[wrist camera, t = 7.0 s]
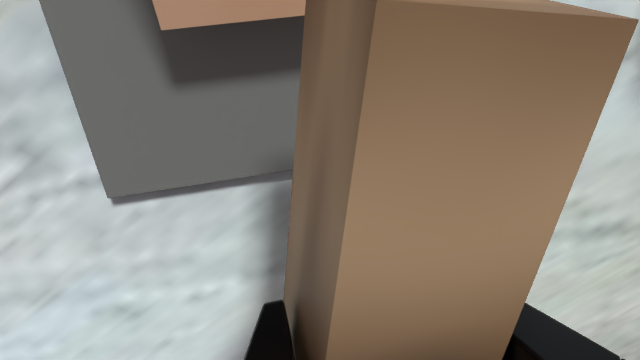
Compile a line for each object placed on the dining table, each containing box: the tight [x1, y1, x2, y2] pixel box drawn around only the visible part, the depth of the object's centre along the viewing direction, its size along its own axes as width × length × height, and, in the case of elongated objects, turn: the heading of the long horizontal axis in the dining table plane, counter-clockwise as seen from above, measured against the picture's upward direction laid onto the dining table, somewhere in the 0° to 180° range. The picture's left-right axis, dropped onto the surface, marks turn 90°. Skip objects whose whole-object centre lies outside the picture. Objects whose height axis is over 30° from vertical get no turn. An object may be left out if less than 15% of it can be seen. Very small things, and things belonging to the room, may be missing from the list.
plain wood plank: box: [283, 0, 638, 360], centre depth 9 cm, size 12×3×4 cm, turn 175°
